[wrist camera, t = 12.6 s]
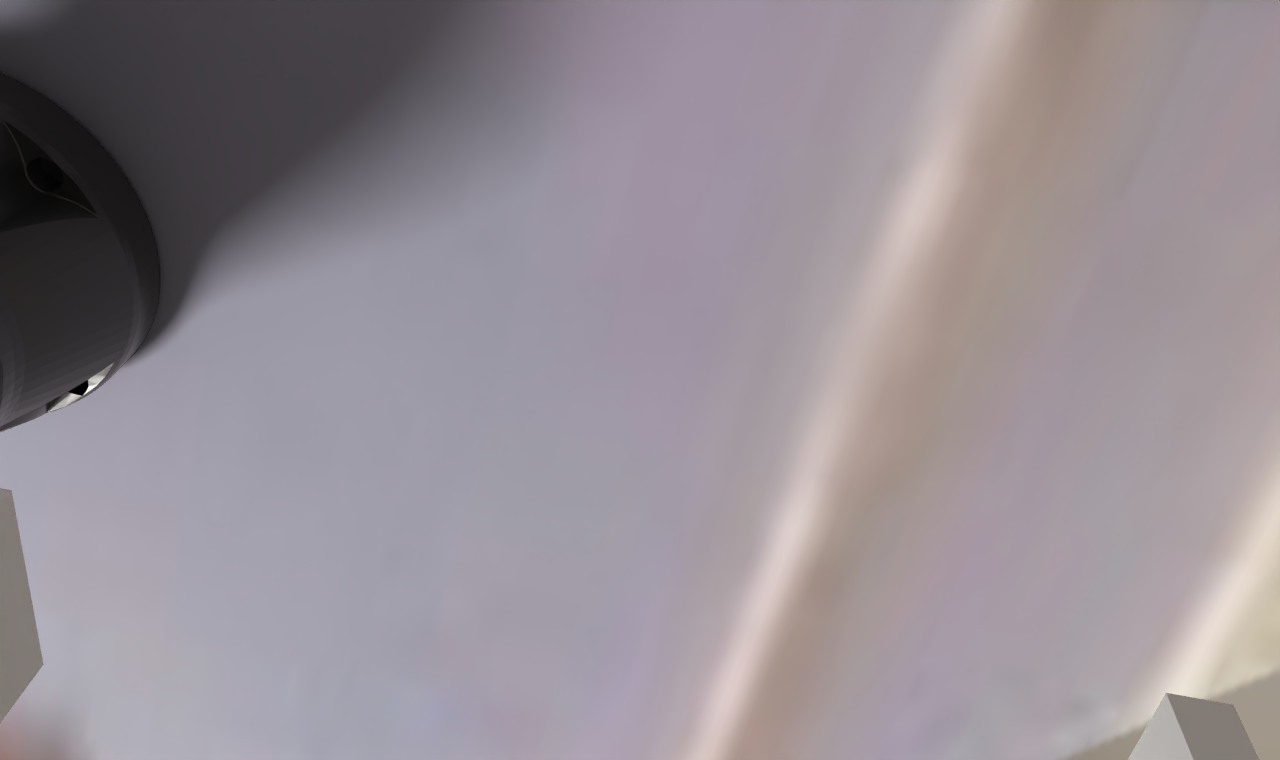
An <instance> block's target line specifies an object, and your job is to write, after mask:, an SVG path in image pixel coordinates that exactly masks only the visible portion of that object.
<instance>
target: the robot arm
mask: <svg viewBox="0 0 1280 760" xmlns="http://www.w3.org/2000/svg"><path fill="white" fill-rule="evenodd" d="M159 291H160V269H159V261H158V254H157V249H156V244H155V241H154V237H153V233H152V230H151V227H150V225H149V222H148V219H147V217H146V214H145V212H144V210H143V207H142V205H141V203H140V201H139V199H138V198H137V196H136V194H135V192H134V190H133V189H132V187H131V185H130V183H129V182H128V180H127V179H126V177H125V176H124V174H123V173H122V171H121V170H120V168H119V167H118V166H117V164H116V163H115V162H114V161H113V159H112V158H111V157H110V155H109V154H108V153H107V152H106V151H105V150H104V148H103V147H102V146H101V145H100V144H99V143H98V142H97V141H96V140H95V139H94V138H93V137H92V135H91V134H90V133H89V132H87V131H86V130H85V129H84V128H83V127H82V126H81V125H80V124H79V123H78V122H77V121H75V120H74V119H73V118H72V117H71V116H69V115H68V114H67V113H66V112H65V111H63V110H62V109H61V108H59V107H58V106H57V105H55V104H54V103H52V102H51V101H50V100H48V99H46V98H45V97H43V96H42V95H40V94H39V93H37V92H36V91H34V90H32V89H30V88H29V87H27V86H25V85H23V84H21V83H19V82H17V81H15V80H13V79H11V78H9V77H7V76H5V75H2V74H0V432H2V431H5V430H7V429H10V428H13V427H15V426H18V425H20V424H23V423H25V422H28V421H30V420H33V419H35V418H37V417H39V416H41V415H43V414H45V413H47V412H51V411H55V410H58V409H60V408H63V407H65V406H68V405H70V404H72V403H74V402H77V401H79V400H81V399H82V398H84V397H86V396H87V395H89V394H91V393H92V392H94V391H95V390H96V389H98V388H99V387H100V386H102V385H103V384H104V383H105V382H106V381H107V380H109V379H110V378H111V377H112V376H113V375H114V374H115V373H116V372H117V370H118V369H119V368H120V367H121V366H122V365H123V364H124V363H125V362H126V361H127V360H128V359H129V358H130V357H131V356H132V355H133V354H134V353H135V351H136V350H137V349H138V348H139V346H140V345H141V344H142V342H143V341H144V339H145V337H146V335H147V334H148V332H149V329H150V327H151V325H152V323H153V320H154V317H155V314H156V309H157V305H158V299H159ZM42 665H43V660H42V654H41V649H40V643H39V638H38V632H37V627H36V621H35V616H34V610H33V605H32V600H31V594H30V589H29V583H28V578H27V572H26V567H25V561H24V556H23V551H22V545H21V540H20V534H19V529H18V523H17V518H16V512H15V507H14V501H13V496H12V491H11V490H6V489H1V488H0V723H1V721H2V720H3V718H4V717H5V716H6V714H7V713H8V712H9V710H10V709H11V708H12V706H13V705H14V704H15V702H16V701H17V699H18V698H19V697H20V695H21V694H22V693H23V691H24V690H25V689H26V687H27V686H28V685H29V683H30V682H31V680H32V679H33V678H34V676H35V675H36V674H37V672H38V671H39V670H40V668H41V667H42ZM1128 760H1259V758H1258V756H1257V754H1256V752H1255V750H1254V748H1253V746H1252V743H1251V742H1250V740H1249V737H1248V735H1247V733H1246V731H1245V729H1244V726H1243V724H1242V722H1241V720H1240V718H1239V716H1238V714H1237V712H1236V709H1235V707H1234V705H1232V704H1225V703H1220V702H1214V701H1209V700H1203V699H1197V698H1192V697H1186V696H1180V695H1175V694H1169V693H1166V694H1165V696H1164V698H1163V699H1162V701H1161V703H1160V705H1159V706H1158V708H1157V710H1156V712H1155V713H1154V715H1153V717H1152V719H1151V720H1150V722H1149V724H1148V726H1147V728H1146V729H1145V731H1144V733H1143V735H1142V736H1141V738H1140V740H1139V742H1138V743H1137V745H1136V747H1135V748H1134V750H1133V752H1132V754H1131V755H1130V757H1129V759H1128Z"/></svg>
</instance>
